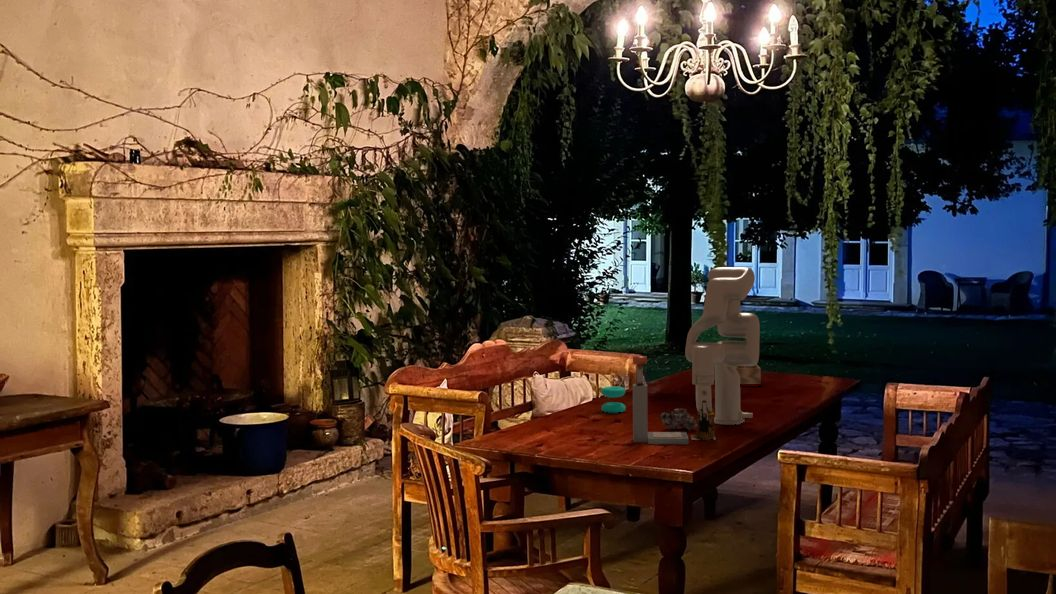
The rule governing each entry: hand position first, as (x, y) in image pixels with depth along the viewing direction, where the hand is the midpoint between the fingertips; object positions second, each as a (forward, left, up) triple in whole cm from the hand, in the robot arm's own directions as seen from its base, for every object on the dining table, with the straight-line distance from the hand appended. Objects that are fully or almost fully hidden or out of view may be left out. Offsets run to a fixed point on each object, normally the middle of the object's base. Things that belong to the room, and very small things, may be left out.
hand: (703, 429), depth 375 cm
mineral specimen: (+7, -16, -3) cm, 18 cm away
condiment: (0, 0, -3) cm, 3 cm away
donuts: (+32, -55, -3) cm, 64 cm away
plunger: (+23, +5, +14) cm, 27 cm away
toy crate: (-27, -136, -3) cm, 139 cm away
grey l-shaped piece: (+15, +5, -3) cm, 16 cm away
